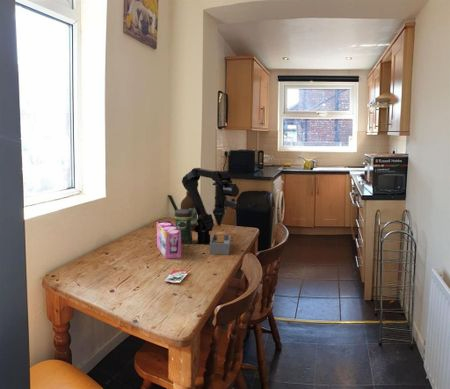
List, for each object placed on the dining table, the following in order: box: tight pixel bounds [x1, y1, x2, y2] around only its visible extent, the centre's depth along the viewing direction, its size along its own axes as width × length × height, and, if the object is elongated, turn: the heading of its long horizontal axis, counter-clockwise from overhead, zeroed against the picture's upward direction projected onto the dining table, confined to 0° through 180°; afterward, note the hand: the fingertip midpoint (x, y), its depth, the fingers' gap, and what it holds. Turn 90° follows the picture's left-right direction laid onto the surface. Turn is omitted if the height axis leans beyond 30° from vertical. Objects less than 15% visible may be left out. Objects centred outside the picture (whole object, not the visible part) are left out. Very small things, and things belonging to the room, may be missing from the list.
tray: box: [209, 233, 231, 255], centre depth 221 cm, size 10×18×6 cm, turn 177°
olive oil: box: [180, 190, 198, 232], centre depth 261 cm, size 11×11×25 cm
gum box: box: [156, 220, 182, 259], centre depth 215 cm, size 24×8×14 cm, turn 20°
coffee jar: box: [173, 208, 193, 245], centre depth 232 cm, size 10×8×19 cm
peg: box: [216, 231, 225, 243], centre depth 221 cm, size 4×4×9 cm
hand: (220, 223), depth 223 cm, fingers open, 9 cm apart
